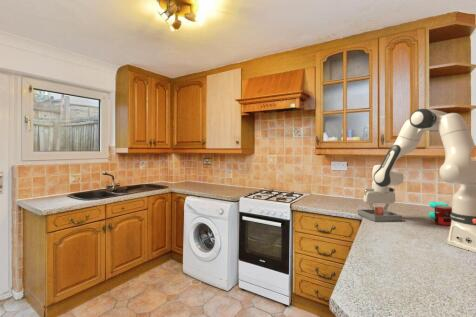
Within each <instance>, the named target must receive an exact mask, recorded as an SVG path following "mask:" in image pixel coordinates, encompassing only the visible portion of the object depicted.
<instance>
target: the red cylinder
mask: <svg viewBox="0 0 476 317" xmlns="http://www.w3.org/2000/svg"><path fill="white" fill-rule="evenodd" d="M374 209H375V216H383V210H384V206H383V207H382V206H374Z"/></svg>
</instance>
